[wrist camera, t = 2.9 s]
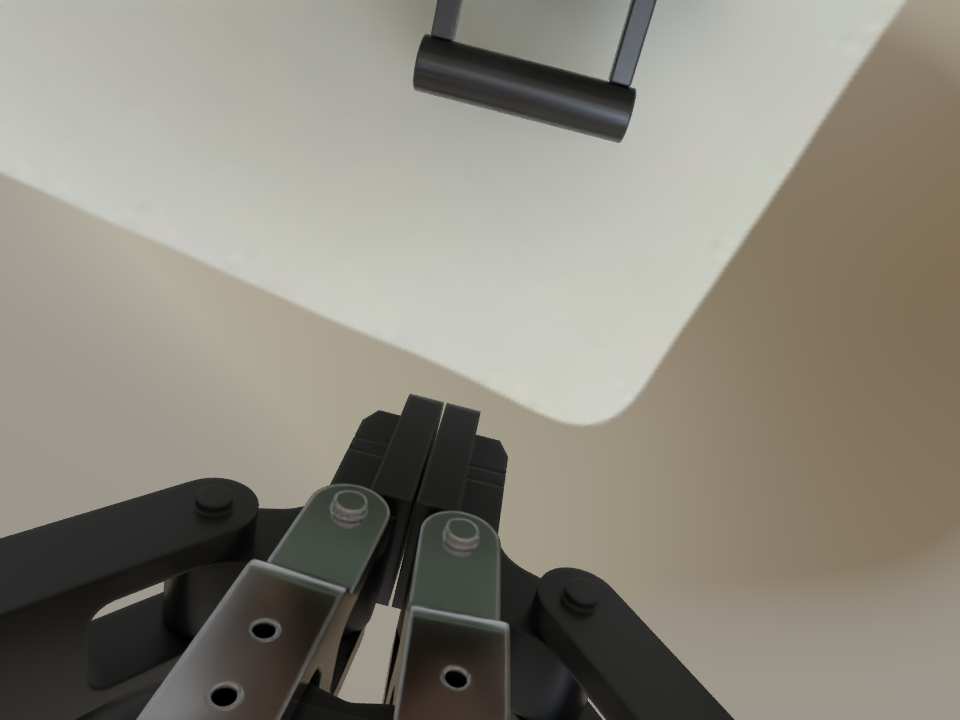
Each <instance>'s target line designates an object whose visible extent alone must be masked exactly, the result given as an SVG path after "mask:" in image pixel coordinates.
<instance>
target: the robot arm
mask: <svg viewBox="0 0 960 720" xmlns="http://www.w3.org/2000/svg"><path fill="white" fill-rule="evenodd" d="M443 405H444V402H441V401H437V400H433V399H429V398H425V397H421V396H418V395H413V394H410V395H409V397H408V399H407V402H406V404H405V407H404V409H403V411H402V414H401V416H400V415H396V414H392V413H388V412H384V411H377V412H375V413H373V414H372V415H370V416H369V417H367V418H365V419H364V420H362V422H361V425H360V426H359V429H358V430H357V432H356V434H355V437H354V438H353V440H352V442H351V444H350V447H349V449H348V450H347V452H346V454H345V456H344V458H343V460H342V462H341V464H340V466H339V468H338V470H337V472H336V474H335V476H334V478H333V480H332V482H331V484H330V485H329V486H326V487H323V488H321V489H319V490H317V491H316V492H315V493H314V494H313V495H312V496H311V497H310V498H309V500H308V501H307V503H306V504H305V506H303V507H298V508H292V509H263V508H258V507H259V504H258V499H257V497H256V495H255V494H254V492H253V491H252V490H251V489H249V488H248V487H246V486H245V485H243V484H241V483H239V482H236V481H233V480H229V479H224V478H204V479H198V480H194V481H190V482H187V483H183V484H180V485H177V486H174V487H170V488H167V489H163V490H160V491H157V492H154V493H150V494H147V495H144V496H140V497H137V498H133V499H130V500H127V501H123V502H120V503H117V504H114V505H110V506H107V507H104V508H100V509H97V510H93V511H90V512H87V513H83V514H81V515H77V516H73V517H70V518H67V519H63V520H60V521H57V522H53V523H50V524H47V525H44V526H40V527H37V528H34V529H31V530H27V531H24V532H20V533H17V534H14V535H10V536H7V537H4V538H1V539H0V720H602V718H601V717H600V716H599V715H598V713H597V712H596V711H595V709H594V708H593V707H592V706H591V704H590V703H589V702H588V700H587V699H588V697H589V699H590V700H591V701H592V702H593V704H594V705H595V706H596V707H597V708H598V710H599V711H600V713H601V714H602V715H603V716H604V718H605V719H606V720H734V719H733V718H732V717H731V716H730V714H728V712H727V711H726V710H725V709H724V708H723V707H722V706H721V705H720V704H719V703H718V702H717V700H716V699H715V698H714V697H712V695H711V694H710V693H709V692H708V691H707V690H706V689H705V688H704V687H703V685H702V684H701V683H700V682H699V681H698V680H697V679H696V678H695V677H694V676H693V675H692V674H691V673H690V671H689V670H688V669H687V668H686V667H685V666H684V665H683V664H682V663H681V662H680V661H679V660H678V659H677V657H676V656H675V655H674V654H673V653H672V652H671V651H670V650H669V649H668V648H667V647H666V646H665V645H664V644H663V642H662V641H661V640H660V639H659V638H658V637H657V636H656V635H655V634H654V633H653V632H652V631H651V630H650V629H649V627H648V626H647V625H646V624H645V623H644V622H643V621H642V620H641V619H640V618H639V617H638V616H637V615H636V613H635V612H634V611H633V610H632V609H631V608H630V607H629V606H628V605H627V604H626V603H625V602H624V601H623V599H622V598H621V597H620V596H619V595H618V594H617V593H616V592H615V591H614V590H613V589H612V588H611V587H610V586H609V585H608V584H607V583H606V582H604V581H603V580H602V579H600V578H599V577H597V576H595V575H593V574H591V573H589V572H586V571H583V570H580V569H575V568H557V569H553V570H551V571H549V572H547V573H545V574H544V575H543V576H542V578H539V577H537V576H535V575H533V574H532V573H530V572H527V571H526V570H524V569H522V568H521V567H519V566H518V565H517V564H515V563H514V562H513V561H512V560H511V559H509V558H508V556H507V555H506V554H505V553H504V551H503V550H502V548H501V543H500V539H499V536H498V529H499V521H500V514H501V506H502V499H503V491H504V483H505V476H506V475H505V474H506V467H507V461H508V456H507V454H506V452H505V450H504V448H503V446H502V444H501V442H500V441H499V440H495V439H491V438H487V437H483V436H479V435H476V431H477V426H478V421H479V417H480V411H477V410H473V409H469V408H465V407H461V406H457V405H454V404H450V403H447V404H446V407H445V410H444V414H443V417H442V420H441V423H440V427H439V422H440V418H441V414H442V410H443ZM438 427H439V430H438ZM437 430H438V433H437ZM436 435H437V436H436ZM435 439H436V440H435ZM404 551H405V552H404ZM403 554H404V556H403ZM402 558H403V561H402ZM401 561H402V565H401V569H400V573H399V578H398V582H397V586H396V590H395V595H394V599H393V604H392V607H395V608H399V609H401V612H400V616H399V620H398V625H397V628H396V632H395V637H394V641H393V645H392V650H391V656H390V661H389V667H388V672H387V678H386V684H385V690H384V696H383V701H382V704H365V703H350V702H347V701H344V700H342V699H340V698H338V697H337V696H338V694H339V692H340V690H341V687H342V685H343V682H344V680H345V678H346V675H347V674H348V671H349V669H350V666H351V664H352V662H353V660H354V657H355V655H356V653H357V651H358V648H359V646H360V643H361V641H362V638H363V636H364V631H365V626H366V624H367V623H368V622H369V620H370V618H371V616H372V613H373V610H374V607H375V604H376V603H378V604H382V605H386V606H388V604H389V600H390V598H391V594H392V591H393V588H394V584H395V581H396V578H397V574H398V571H399V568H400V564H401ZM161 582H164V592H162V593H160V594H157V595H155V596H152V597H150V598H147V599H145V600H142V601H140V602H137V603H134V604H132V605H129V606H127V607H125V608H122V609H119V610H117V611H115V612H112V613H109V614H107V615H105V616H102V617H99V618H97V619H94V620H92V618H93V617H94V616H95V614H96V613H97V612H98V611H99V610H100V609H102V608H103V607H104V606H105V605H107V604H109V603H111V602H112V601H114V600H117V599H120V598H122V597H125V596H128V595H130V594H132V593H135V592H138V591H140V590H143V589H145V588H148V587H151V586H153V585H155V584H158V583H161ZM91 620H92V621H91Z"/></svg>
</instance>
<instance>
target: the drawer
mask: <svg viewBox="0 0 960 720" xmlns="http://www.w3.org/2000/svg"><path fill="white" fill-rule="evenodd" d="M462 1H463V0H437V5H436V10H435V15H434V21H433V26H432V31H431V35H428V34H425V35H424V37H423V38H422V40H421V43H420V46H419V50H418V53H417V58H416V63H415V68H414V76H413V87H414V89H415V90H416V91H420V92H424V93H428V94H432V95H435V96H439V97H443V98H447V99H451V100H455V101H459V102H462V103H466V104H470V105H474V106H478V107H482V108H486V109H489V110H493V111H497V112H501V113H505V114H509V115H513V116H516V117H520V118H524V119H528V120H532V121H536V122H540V123H544V124H547V125H551V126H555V127H559V128H563V129H567V130H571V131H574V132H578V133H582V134H586V135H590V136H594V137H598V138H601V139H605V140H609V141H613V142H617V143H620V142H621V141H622V139H623V137H624V135H625V133H626V130H627V127H628V124H629V121H630V118H631V115H632V111H633V107H634V103H635V98H636V89H635V88H632V87H629V86H630V85H631V83H632V80H633V77H634V73H635V70H636V67H637V63H638V60H639V57H640V53H641V50H642V47H643V44H644V40H645V37H646V34H647V30H648V27H649V24H650V21H651V17H652V14H653V11H654V7H655V4H656V1H657V0H631V3H630V6H629V10H628V13H627V17H626V20H625V24H624V27H623V30H622V34H621V37H620V41H619V44H618V48H617V51H616V55H615V58H614V61H613V65H612V68H611V72H610V75H609V81H610V82H609V81H605V80H601V79H598V78H594V77H590V76H586V75H582V74H578V73H575V72H571V71H567V70H563V69H559V68H555V67H551V66H548V65H544V64H540V63H536V62H532V61H528V60H524V59H521V58H517V57H513V56H509V55H505V54H501V53H498V52H494V51H490V50H486V49H482V48H478V47H474V46H471V45H467V44H463V43H459V42H455V41H452V40H454V39H455V35H456V30H457V25H458V20H459V15H460V10H461V6H462Z"/></svg>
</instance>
